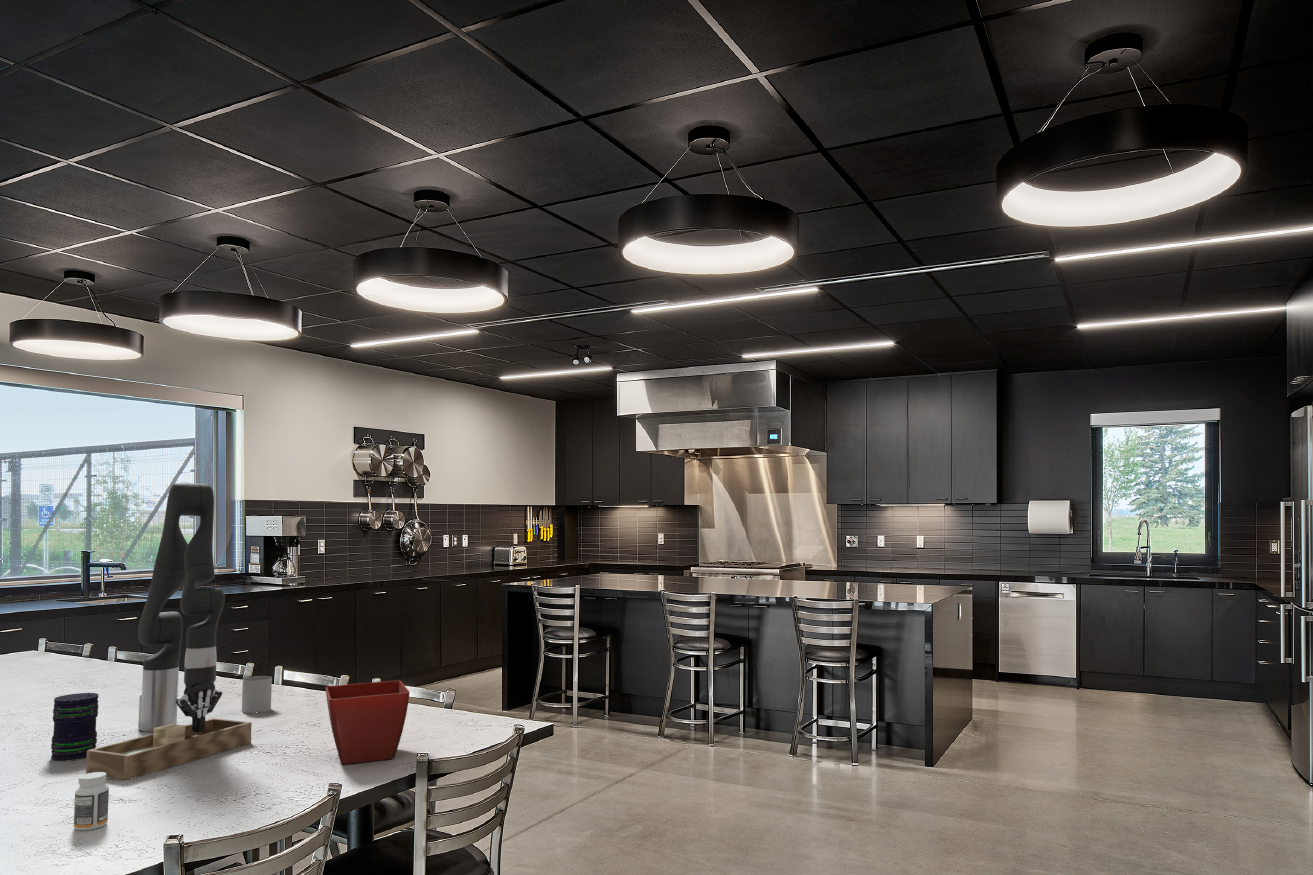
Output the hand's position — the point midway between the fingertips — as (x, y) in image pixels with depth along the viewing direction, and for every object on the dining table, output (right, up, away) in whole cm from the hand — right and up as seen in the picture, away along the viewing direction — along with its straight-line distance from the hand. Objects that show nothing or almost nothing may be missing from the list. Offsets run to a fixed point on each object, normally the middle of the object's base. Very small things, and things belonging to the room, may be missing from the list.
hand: (198, 731), depth 232 cm
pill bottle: (+8, 0, -57) cm, 57 cm away
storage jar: (-30, -5, -4) cm, 31 cm away
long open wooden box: (-3, -4, -7) cm, 9 cm away
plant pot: (+46, -4, -6) cm, 47 cm away
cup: (-6, -9, +47) cm, 49 cm away
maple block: (-3, -1, -8) cm, 9 cm away
